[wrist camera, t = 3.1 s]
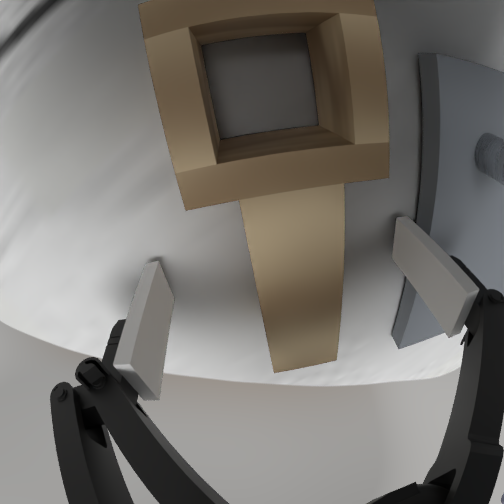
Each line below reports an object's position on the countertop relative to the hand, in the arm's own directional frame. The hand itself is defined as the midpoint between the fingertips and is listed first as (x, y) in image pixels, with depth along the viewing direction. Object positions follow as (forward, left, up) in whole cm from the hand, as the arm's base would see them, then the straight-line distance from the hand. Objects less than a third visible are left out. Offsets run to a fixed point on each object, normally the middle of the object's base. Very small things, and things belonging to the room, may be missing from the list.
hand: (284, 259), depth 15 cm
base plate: (0, +17, 0) cm, 17 cm away
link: (-4, 0, 0) cm, 4 cm away
